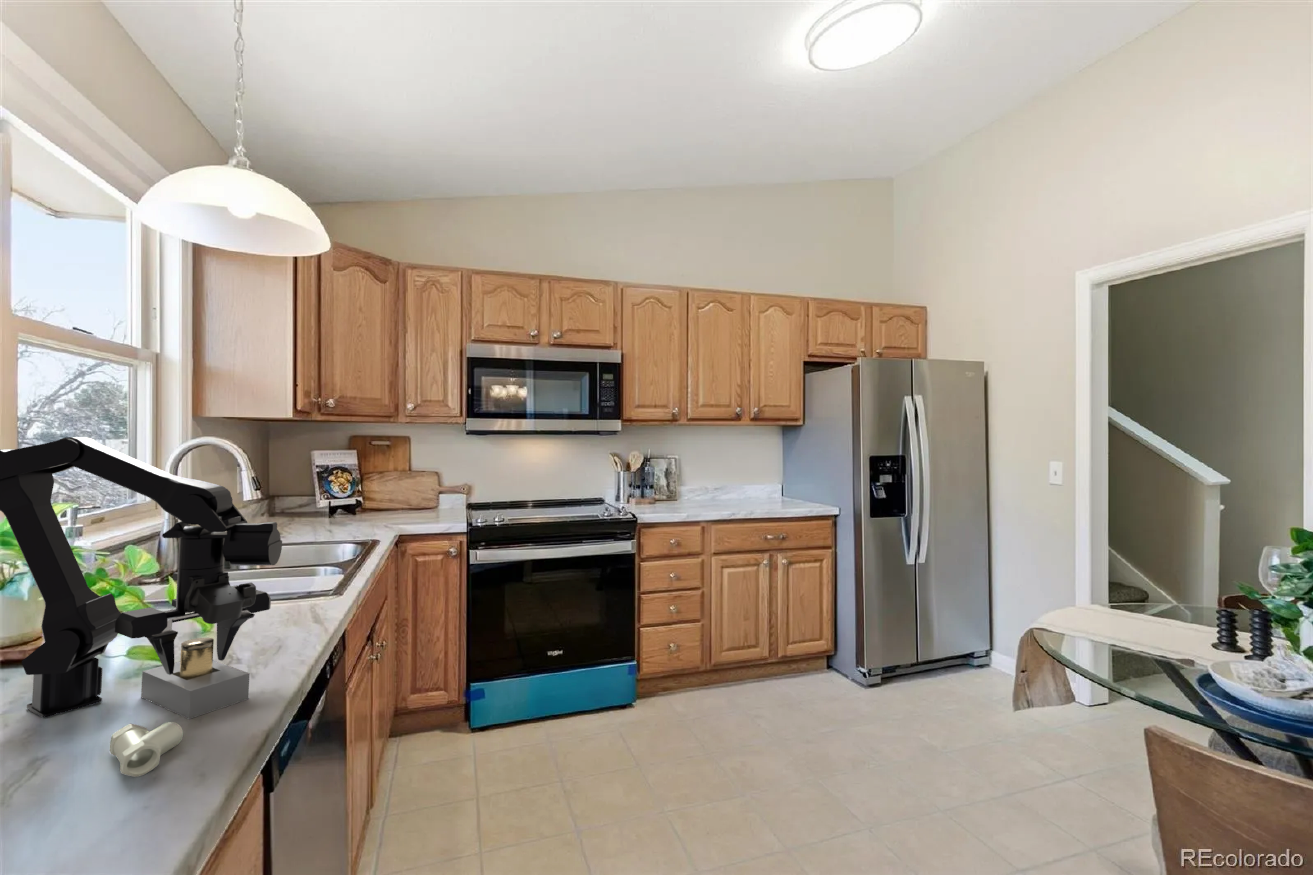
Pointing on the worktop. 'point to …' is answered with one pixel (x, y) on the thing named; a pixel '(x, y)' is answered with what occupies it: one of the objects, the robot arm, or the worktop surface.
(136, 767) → the pipe fitting
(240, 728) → the worktop surface
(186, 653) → the brass plug
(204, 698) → the block
